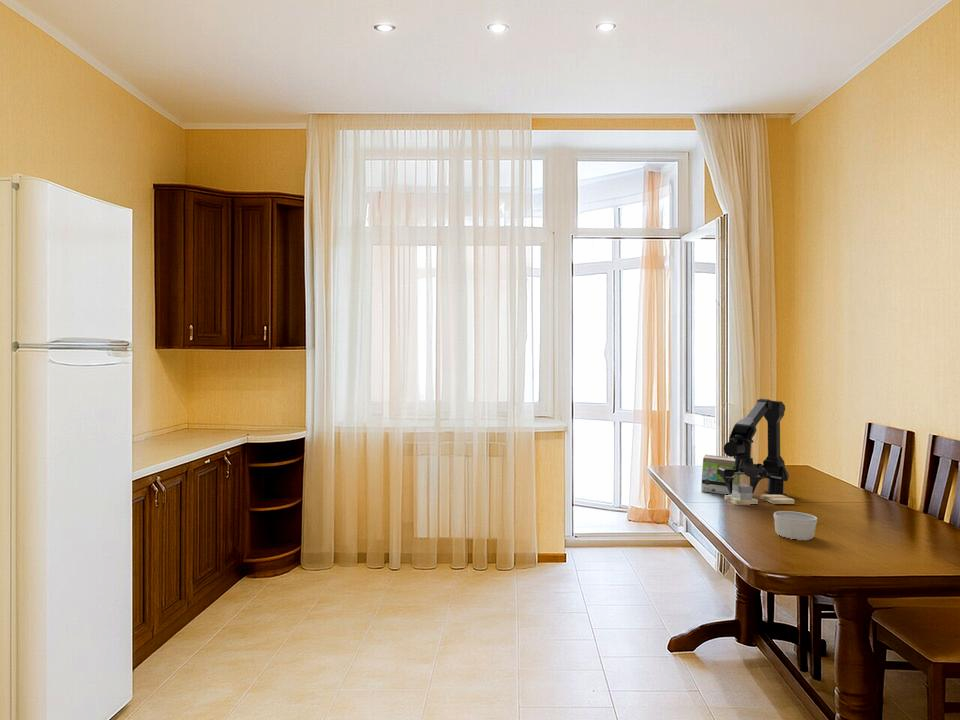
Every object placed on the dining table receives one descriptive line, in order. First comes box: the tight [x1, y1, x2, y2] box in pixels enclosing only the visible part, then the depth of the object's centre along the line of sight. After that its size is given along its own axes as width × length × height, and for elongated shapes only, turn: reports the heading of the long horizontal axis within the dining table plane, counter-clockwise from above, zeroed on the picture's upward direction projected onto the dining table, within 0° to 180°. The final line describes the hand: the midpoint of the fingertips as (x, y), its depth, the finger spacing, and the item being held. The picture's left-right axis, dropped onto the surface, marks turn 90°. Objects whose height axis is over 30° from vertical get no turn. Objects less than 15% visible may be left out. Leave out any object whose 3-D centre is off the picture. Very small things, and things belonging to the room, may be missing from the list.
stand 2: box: [760, 494, 795, 505], centre depth 287 cm, size 9×9×2 cm
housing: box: [731, 482, 753, 500], centre depth 284 cm, size 7×5×5 cm
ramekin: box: [773, 510, 818, 541], centre depth 236 cm, size 13×13×7 cm
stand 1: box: [724, 494, 759, 506], centre depth 284 cm, size 9×9×2 cm
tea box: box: [700, 454, 741, 495], centre depth 303 cm, size 15×10×15 cm
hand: (741, 493), depth 284 cm, fingers open, 9 cm apart
